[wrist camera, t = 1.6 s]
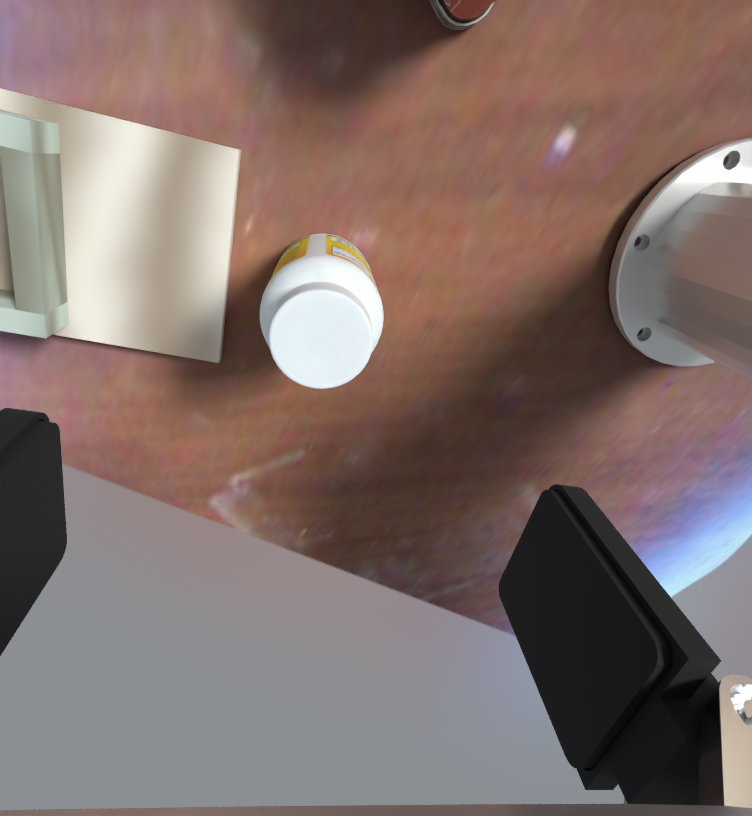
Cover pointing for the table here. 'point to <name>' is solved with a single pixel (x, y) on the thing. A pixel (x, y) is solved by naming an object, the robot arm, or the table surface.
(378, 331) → the supplement bottle
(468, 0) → the lighter
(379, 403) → the table surface
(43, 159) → the bottle caddy
